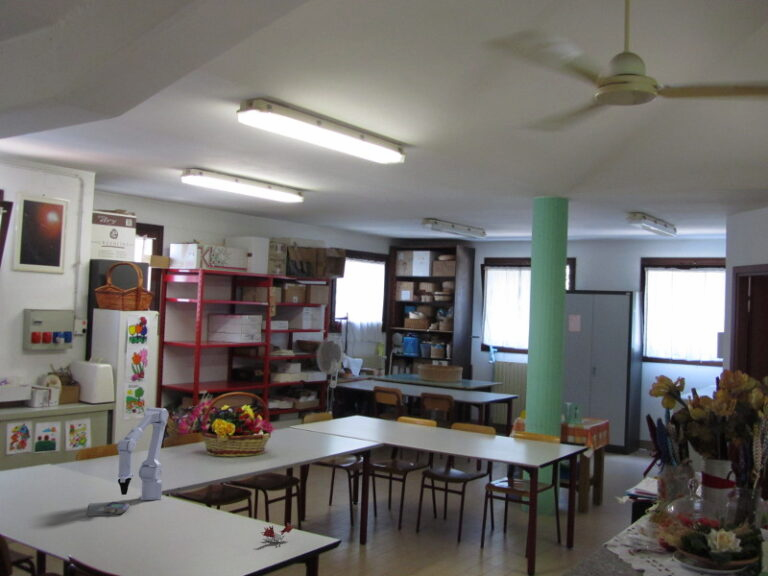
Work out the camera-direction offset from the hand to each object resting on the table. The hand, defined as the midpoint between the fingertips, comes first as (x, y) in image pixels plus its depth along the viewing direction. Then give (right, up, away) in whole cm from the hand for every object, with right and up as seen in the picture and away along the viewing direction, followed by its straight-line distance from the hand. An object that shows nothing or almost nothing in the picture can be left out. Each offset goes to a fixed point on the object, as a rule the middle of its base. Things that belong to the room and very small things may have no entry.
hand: (124, 494), depth 336 cm
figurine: (+76, -8, -39) cm, 86 cm away
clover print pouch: (-1, -4, -2) cm, 5 cm away
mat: (-9, -6, -3) cm, 11 cm away
